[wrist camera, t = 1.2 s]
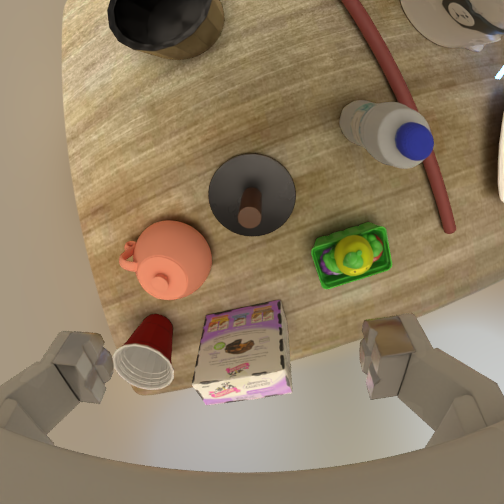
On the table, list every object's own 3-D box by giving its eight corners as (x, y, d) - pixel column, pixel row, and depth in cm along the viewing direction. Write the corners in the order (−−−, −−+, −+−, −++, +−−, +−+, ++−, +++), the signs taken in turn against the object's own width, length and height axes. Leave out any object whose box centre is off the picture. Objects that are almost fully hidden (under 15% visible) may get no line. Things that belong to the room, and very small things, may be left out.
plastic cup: (198, 326, 59) (186, 374, 48) (167, 352, 62) (153, 397, 52) (151, 291, 55) (129, 336, 45) (123, 322, 59) (102, 365, 49)
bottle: (331, 100, 39) (382, 107, 22) (377, 96, 39) (451, 106, 21) (338, 146, 43) (388, 186, 25) (382, 142, 42) (453, 180, 24)
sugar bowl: (204, 290, 55) (193, 330, 46) (128, 267, 53) (105, 301, 44) (222, 227, 49) (213, 260, 40) (137, 202, 47) (110, 229, 38)
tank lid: (242, 135, 42) (237, 145, 34) (312, 187, 46) (322, 209, 37) (193, 202, 47) (179, 227, 39) (260, 247, 50) (259, 279, 42)
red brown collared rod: (453, 222, 47) (462, 230, 44) (439, 230, 48) (447, 238, 45) (332, -34, 29) (337, -41, 27) (314, -27, 30) (317, -35, 28)
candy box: (216, 336, 60) (204, 407, 45) (205, 313, 57) (189, 384, 43) (288, 323, 57) (293, 395, 43) (280, 297, 55) (285, 370, 40)
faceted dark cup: (175, -25, 31) (150, -53, 21) (241, 10, 34) (234, -16, 24) (128, 38, 35) (89, 26, 25) (191, 74, 38) (167, 69, 28)
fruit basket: (318, 273, 52) (329, 317, 42) (303, 226, 49) (313, 264, 39) (383, 253, 50) (407, 292, 40) (373, 204, 46) (400, 236, 36)
